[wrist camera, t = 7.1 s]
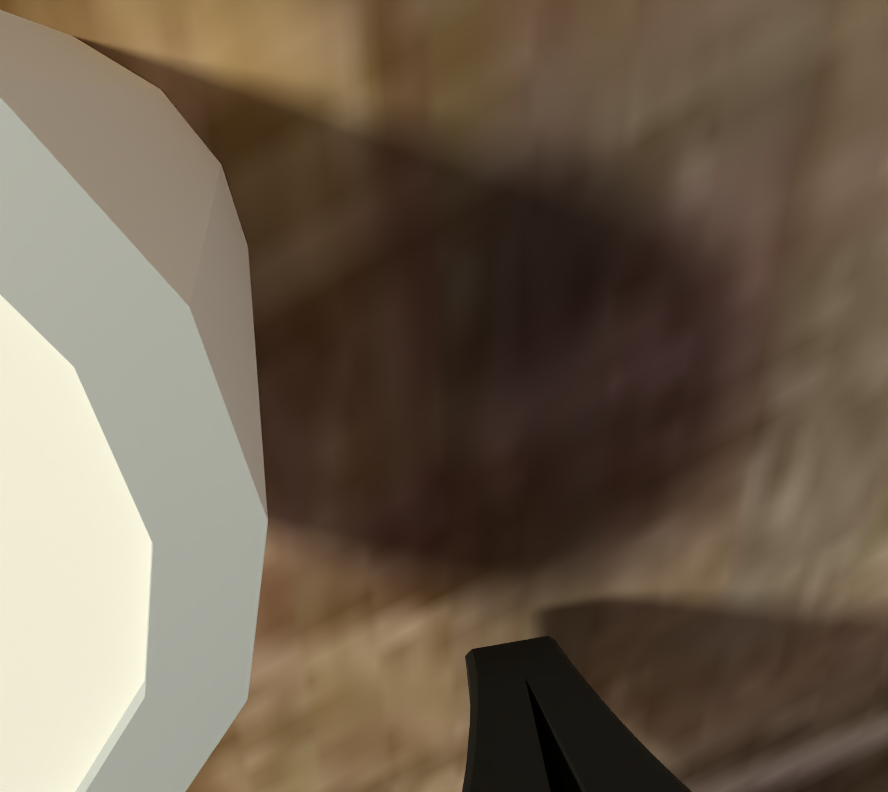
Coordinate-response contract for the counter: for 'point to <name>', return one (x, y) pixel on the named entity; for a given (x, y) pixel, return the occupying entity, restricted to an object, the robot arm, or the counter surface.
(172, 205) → the white cup
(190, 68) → the counter surface
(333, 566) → the counter surface
